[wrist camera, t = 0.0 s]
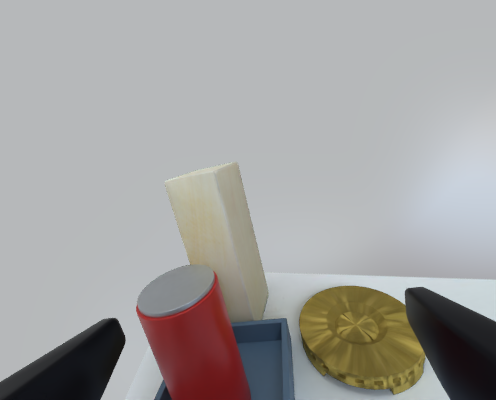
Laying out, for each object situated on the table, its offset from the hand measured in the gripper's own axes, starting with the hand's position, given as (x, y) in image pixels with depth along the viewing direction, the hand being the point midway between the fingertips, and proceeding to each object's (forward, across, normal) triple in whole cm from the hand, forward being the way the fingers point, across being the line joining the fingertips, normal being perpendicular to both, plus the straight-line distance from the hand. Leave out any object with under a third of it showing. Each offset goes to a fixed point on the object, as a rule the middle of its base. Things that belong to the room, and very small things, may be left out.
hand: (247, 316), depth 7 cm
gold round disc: (+16, -6, +18) cm, 25 cm away
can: (+9, +8, +18) cm, 21 cm away
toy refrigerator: (+22, +8, +18) cm, 29 cm away
